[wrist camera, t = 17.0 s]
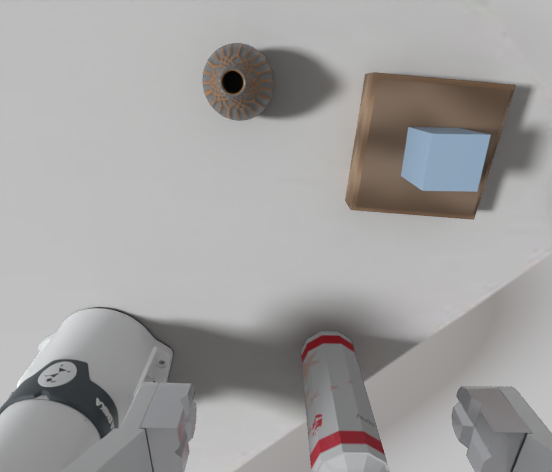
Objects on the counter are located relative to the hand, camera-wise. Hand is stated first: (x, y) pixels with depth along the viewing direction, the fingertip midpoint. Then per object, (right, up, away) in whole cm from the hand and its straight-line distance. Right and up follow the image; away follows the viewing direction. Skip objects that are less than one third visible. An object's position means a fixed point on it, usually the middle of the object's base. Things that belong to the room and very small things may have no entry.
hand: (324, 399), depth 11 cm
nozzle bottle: (+6, -12, +41) cm, 43 cm away
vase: (-5, +21, +27) cm, 35 cm away
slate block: (+14, +14, +26) cm, 32 cm away
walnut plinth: (+14, +15, +29) cm, 36 cm away
